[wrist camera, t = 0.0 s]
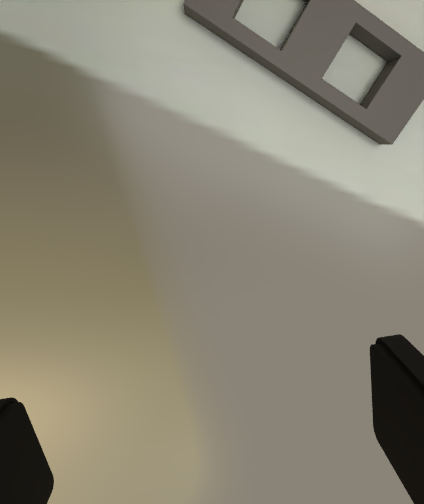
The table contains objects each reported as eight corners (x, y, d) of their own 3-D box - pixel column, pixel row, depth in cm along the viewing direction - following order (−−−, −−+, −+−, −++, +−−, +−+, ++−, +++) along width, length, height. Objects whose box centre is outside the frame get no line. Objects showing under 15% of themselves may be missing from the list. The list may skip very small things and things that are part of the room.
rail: (227, -75, 31) (229, -93, 29) (429, 73, 35) (445, 68, 33) (185, 13, 33) (183, 3, 31) (380, 144, 37) (392, 144, 35)
